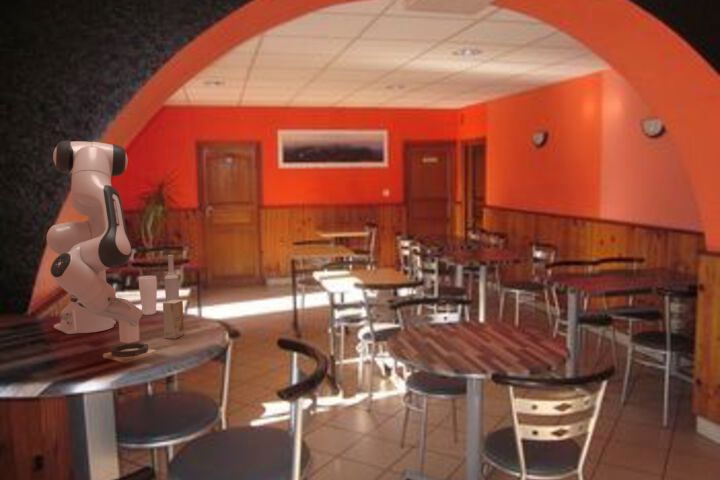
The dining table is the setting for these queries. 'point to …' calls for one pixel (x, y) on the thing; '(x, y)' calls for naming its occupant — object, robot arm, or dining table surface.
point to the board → (128, 359)
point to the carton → (128, 332)
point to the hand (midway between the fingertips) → (130, 323)
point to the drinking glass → (148, 294)
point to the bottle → (171, 282)
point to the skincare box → (173, 319)
